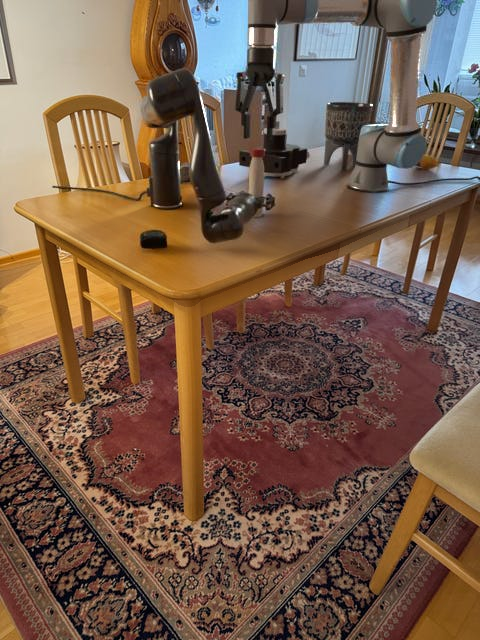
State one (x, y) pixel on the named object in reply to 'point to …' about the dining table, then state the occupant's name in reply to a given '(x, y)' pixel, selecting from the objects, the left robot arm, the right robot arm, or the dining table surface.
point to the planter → (345, 128)
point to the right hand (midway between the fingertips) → (257, 139)
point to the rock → (184, 173)
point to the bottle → (256, 180)
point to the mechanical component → (278, 154)
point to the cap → (257, 152)
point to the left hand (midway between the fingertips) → (256, 195)
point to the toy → (427, 162)
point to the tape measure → (153, 239)
